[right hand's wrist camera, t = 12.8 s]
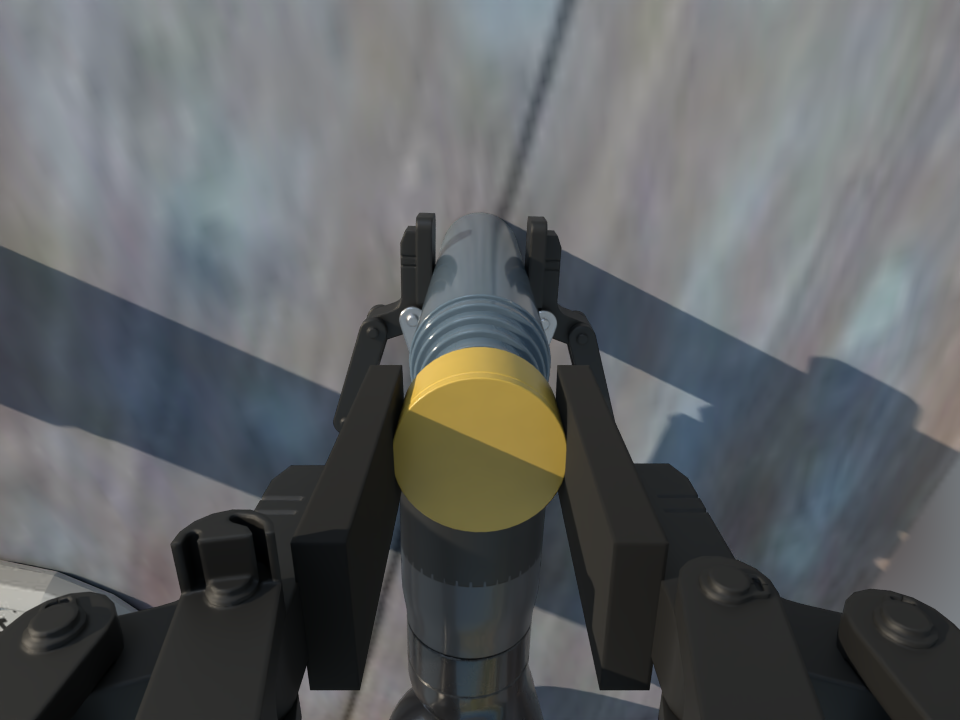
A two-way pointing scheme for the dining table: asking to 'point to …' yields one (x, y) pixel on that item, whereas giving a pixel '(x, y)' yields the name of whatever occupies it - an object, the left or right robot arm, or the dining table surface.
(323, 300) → the dining table surface
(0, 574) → the wall clock
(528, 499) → the cap
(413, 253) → the left robot arm
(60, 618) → the right robot arm
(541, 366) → the bottle
